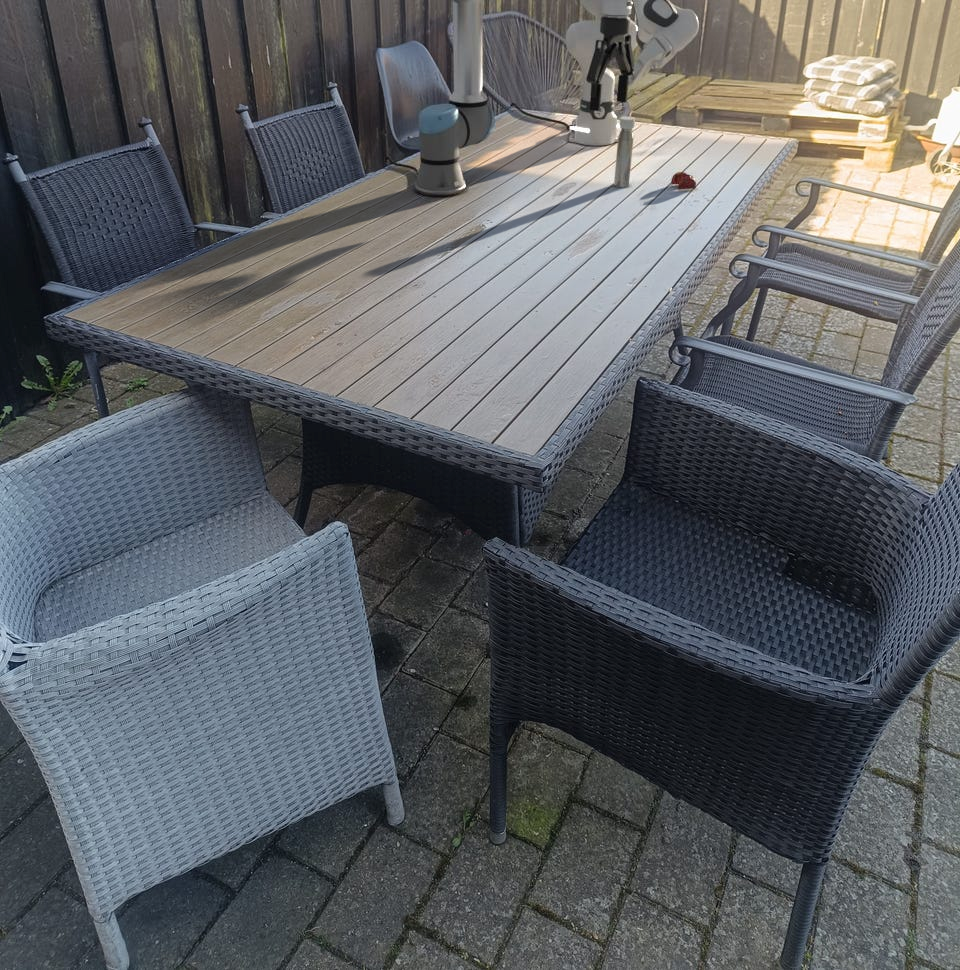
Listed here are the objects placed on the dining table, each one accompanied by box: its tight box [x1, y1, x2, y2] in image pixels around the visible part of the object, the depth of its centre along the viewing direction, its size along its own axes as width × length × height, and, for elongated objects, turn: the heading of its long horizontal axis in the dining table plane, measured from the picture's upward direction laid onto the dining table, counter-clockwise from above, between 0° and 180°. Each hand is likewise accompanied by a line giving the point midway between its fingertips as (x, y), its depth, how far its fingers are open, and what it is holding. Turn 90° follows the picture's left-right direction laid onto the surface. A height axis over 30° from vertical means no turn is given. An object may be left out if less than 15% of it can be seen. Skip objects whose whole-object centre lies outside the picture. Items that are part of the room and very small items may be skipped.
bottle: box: [613, 128, 634, 189], centre depth 257 cm, size 5×5×19 cm
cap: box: [618, 116, 636, 130], centre depth 251 cm, size 4×4×3 cm
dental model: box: [670, 171, 697, 190], centre depth 260 cm, size 6×4×8 cm
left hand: (608, 106), depth 226 cm, fingers open, 13 cm apart
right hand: (624, 81), depth 265 cm, fingers open, 8 cm apart
